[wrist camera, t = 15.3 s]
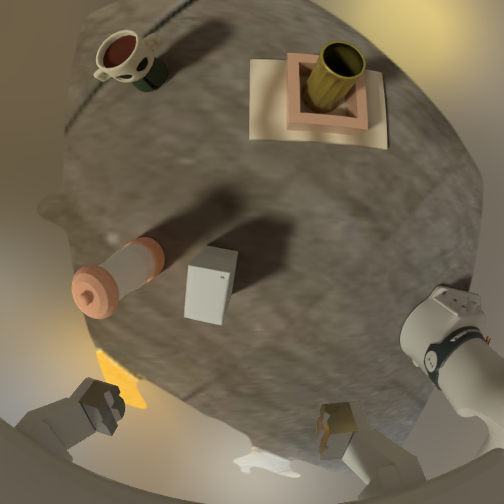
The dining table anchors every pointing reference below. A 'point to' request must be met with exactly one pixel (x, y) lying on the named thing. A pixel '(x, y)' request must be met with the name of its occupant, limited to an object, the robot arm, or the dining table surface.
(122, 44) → the character mug
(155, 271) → the pepper shaker
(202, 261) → the small box
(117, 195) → the dining table surface
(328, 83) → the vase
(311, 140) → the board
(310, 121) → the pink open box
